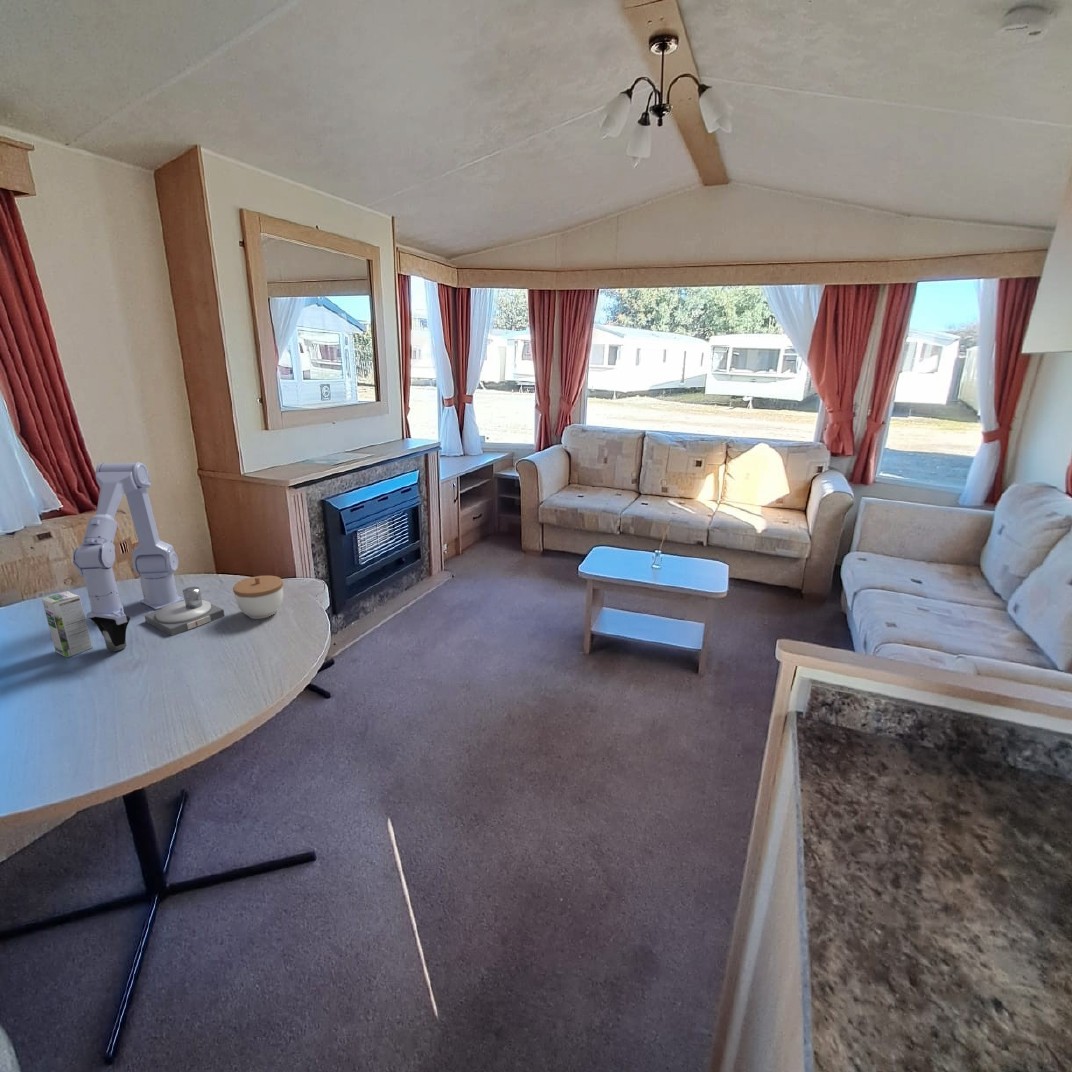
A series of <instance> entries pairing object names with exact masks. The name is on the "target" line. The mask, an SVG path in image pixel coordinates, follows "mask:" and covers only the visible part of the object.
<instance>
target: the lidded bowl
mask: <svg viewBox="0 0 1072 1072" xmlns="http://www.w3.org/2000/svg"><path fill="white" fill-rule="evenodd" d="M232 590H233V591H232V592H233V594H234V599H235V603H236V605H237V608H238V609H239V610H240V611H241V612H242V613H243V614H244V615H246V616H248V618H250V619H254V620H261V619H267V618H270V617H272V616H274V615H276V613H277V611H278V609H279V608H280V607H281V605H282V604H283V601H284V581H283V579H282V578H281V577H280V576H275V575H257V576H252V577H248V578H245V579H242V580H240V581H238V582H236V583H235V584H234V585H233V587H232ZM273 614H274V615H273ZM271 615H272V616H271ZM269 616H270V617H269Z"/></svg>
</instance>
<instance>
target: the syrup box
mask: <svg viewBox="0 0 1072 1072" xmlns="http://www.w3.org/2000/svg"><path fill="white" fill-rule="evenodd" d="M41 602H42V605H43V609H44V611H45V612H44V613H45V616H46V621H47V624H48V628H49V632H50V636H51V640H52V643H53V646H54V650H55V653H57V654H59V655H62V656H63V657H65V658H69V657H73V656H74V655H78V654H80V653H83V652H85V651H88V650H90V649H92V648H93V645H92V644H93V643H92V640H91V636H90V631H89V628H88V627H89V626H88V625H87V621H86V620H87V619H86V616H85V611H84V608H83V604H82V599H81V596H80V595H78V594H76V593H73V592H70V591H69V590H67V591H63V592H59V593H55V594H51V595H48V596H46V597H43V598H42V599H41Z"/></svg>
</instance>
